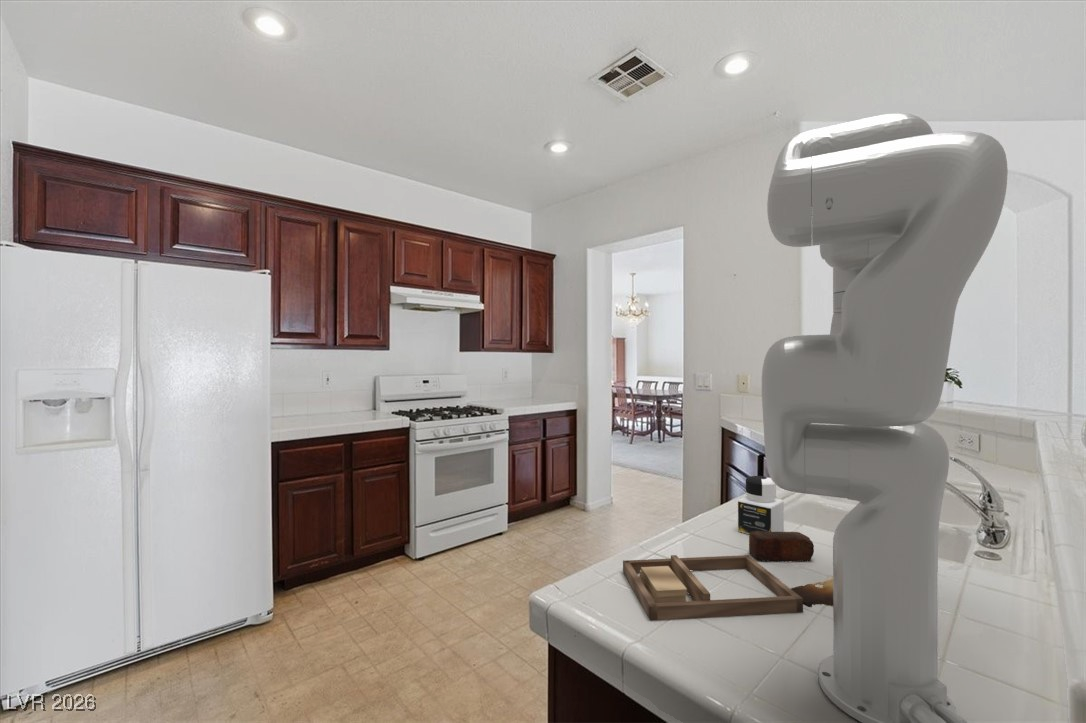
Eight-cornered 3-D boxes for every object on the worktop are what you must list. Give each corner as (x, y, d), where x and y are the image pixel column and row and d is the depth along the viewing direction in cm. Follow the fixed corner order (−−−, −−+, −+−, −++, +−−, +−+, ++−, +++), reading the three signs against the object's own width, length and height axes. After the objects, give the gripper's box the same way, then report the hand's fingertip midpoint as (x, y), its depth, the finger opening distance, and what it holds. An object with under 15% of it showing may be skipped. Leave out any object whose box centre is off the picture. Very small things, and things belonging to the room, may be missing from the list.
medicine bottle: (737, 532, 105) (737, 477, 104) (751, 524, 109) (751, 472, 109) (771, 541, 99) (770, 483, 99) (784, 532, 104) (784, 477, 104)
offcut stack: (688, 609, 73) (688, 590, 73) (657, 611, 73) (657, 592, 73) (666, 580, 83) (666, 562, 83) (638, 581, 83) (638, 564, 83)
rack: (803, 612, 71) (803, 592, 71) (650, 620, 69) (650, 600, 69) (748, 565, 87) (748, 549, 87) (622, 571, 85) (622, 555, 85)
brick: (757, 563, 89) (757, 538, 89) (748, 554, 93) (748, 530, 93) (814, 562, 89) (814, 538, 89) (802, 554, 93) (802, 530, 93)
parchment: (888, 568, 86) (887, 564, 86) (945, 593, 77) (945, 587, 77) (773, 588, 80) (772, 583, 80) (820, 617, 71) (820, 611, 71)
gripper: (924, 297, 72) (925, 409, 72) (843, 308, 89) (843, 399, 90) (878, 296, 72) (878, 410, 72) (805, 308, 89) (805, 400, 89)
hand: (859, 404), depth 81 cm, fingers open, 9 cm apart
